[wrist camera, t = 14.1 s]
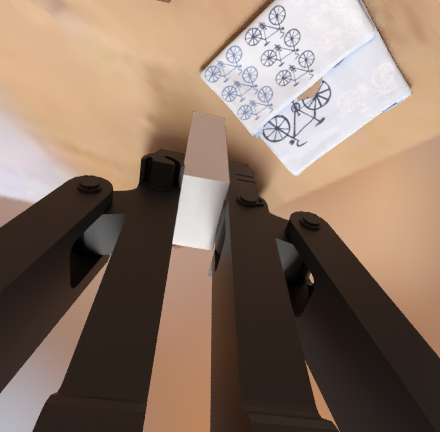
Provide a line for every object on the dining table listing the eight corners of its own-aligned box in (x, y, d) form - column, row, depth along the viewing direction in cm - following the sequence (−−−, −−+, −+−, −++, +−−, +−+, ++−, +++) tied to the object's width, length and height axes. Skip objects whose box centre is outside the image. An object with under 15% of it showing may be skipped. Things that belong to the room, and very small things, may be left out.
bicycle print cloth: (331, -57, 36) (337, -60, 34) (410, 94, 45) (419, 98, 43) (196, 70, 42) (195, 74, 41) (289, 181, 51) (292, 188, 49)
